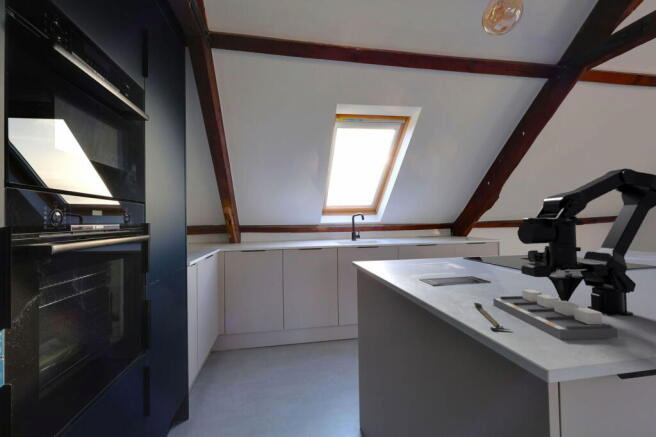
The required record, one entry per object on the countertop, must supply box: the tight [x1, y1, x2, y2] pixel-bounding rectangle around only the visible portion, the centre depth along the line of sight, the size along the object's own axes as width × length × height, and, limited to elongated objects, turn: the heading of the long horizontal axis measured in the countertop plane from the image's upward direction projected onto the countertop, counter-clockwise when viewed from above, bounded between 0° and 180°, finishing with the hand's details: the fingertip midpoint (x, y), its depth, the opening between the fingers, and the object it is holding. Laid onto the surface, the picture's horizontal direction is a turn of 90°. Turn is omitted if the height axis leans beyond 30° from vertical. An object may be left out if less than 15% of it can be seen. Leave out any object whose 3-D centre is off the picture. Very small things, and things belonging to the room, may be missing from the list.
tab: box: [537, 294, 560, 308], centre depth 77 cm, size 3×4×2 cm
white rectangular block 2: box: [554, 300, 580, 315], centre depth 71 cm, size 3×4×2 cm
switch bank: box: [492, 295, 619, 341], centre depth 74 cm, size 12×25×3 cm, turn 0°
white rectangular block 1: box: [521, 289, 543, 301], centre depth 83 cm, size 3×4×2 cm
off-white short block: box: [574, 307, 603, 324], centre depth 65 cm, size 3×4×2 cm
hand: (564, 302), depth 77 cm, fingers closed
